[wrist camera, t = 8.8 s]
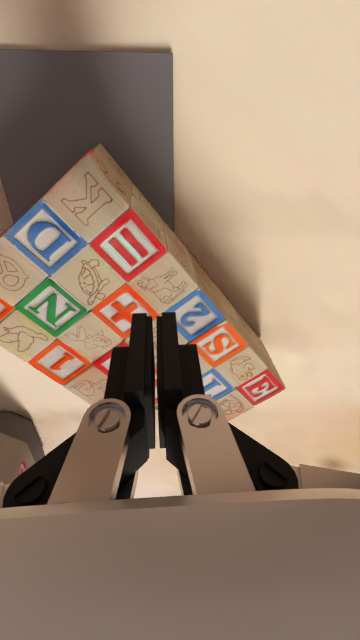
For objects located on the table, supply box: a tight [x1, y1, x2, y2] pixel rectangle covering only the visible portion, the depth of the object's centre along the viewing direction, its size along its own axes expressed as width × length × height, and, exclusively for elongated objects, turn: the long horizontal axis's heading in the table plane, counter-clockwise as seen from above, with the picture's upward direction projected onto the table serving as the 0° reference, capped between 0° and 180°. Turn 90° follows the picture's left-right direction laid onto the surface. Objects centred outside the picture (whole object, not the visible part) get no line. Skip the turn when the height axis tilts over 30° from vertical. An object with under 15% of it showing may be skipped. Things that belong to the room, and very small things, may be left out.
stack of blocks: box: [0, 143, 285, 421], centre depth 23 cm, size 21×6×12 cm
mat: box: [0, 50, 174, 233], centre depth 23 cm, size 11×23×1 cm, turn 0°
